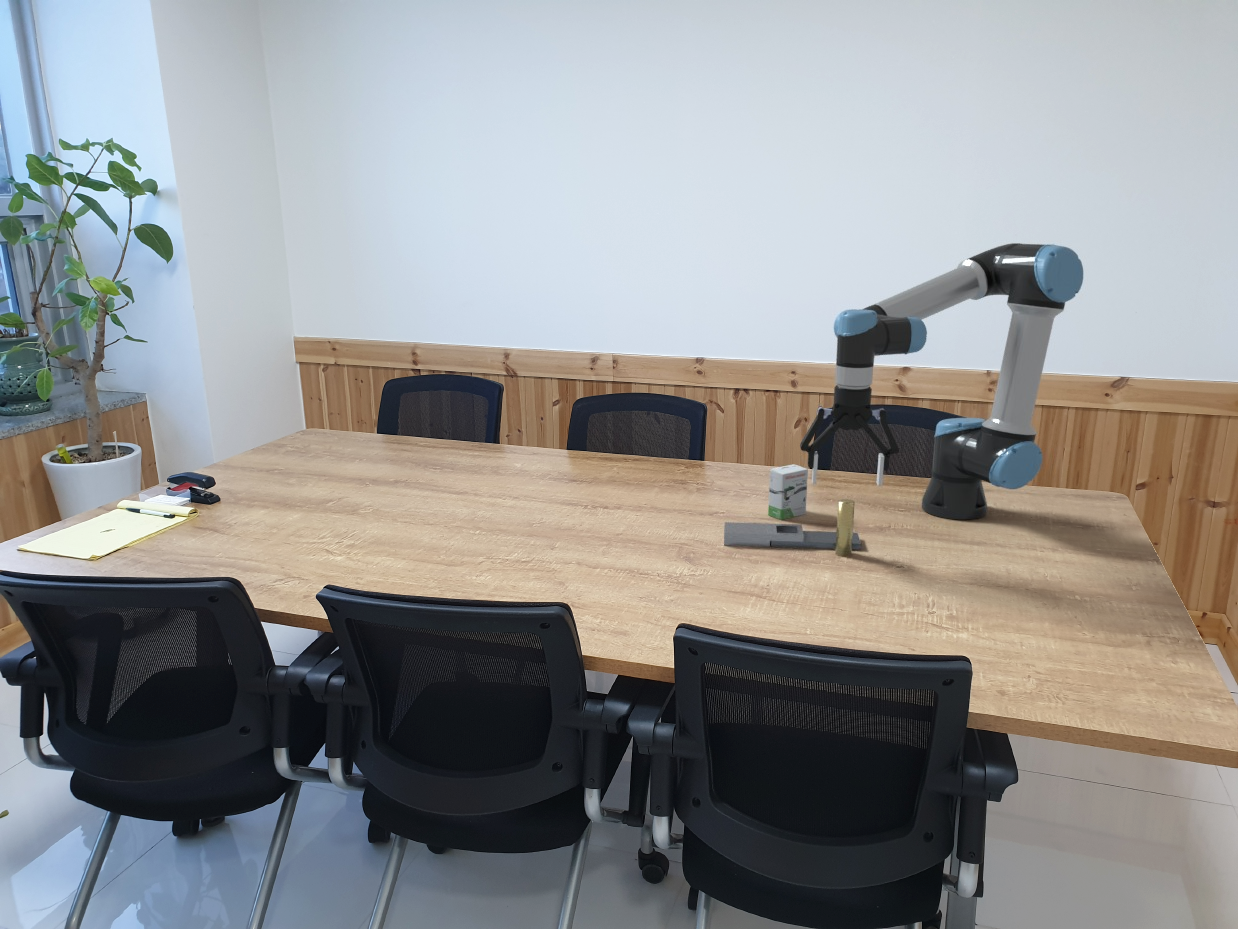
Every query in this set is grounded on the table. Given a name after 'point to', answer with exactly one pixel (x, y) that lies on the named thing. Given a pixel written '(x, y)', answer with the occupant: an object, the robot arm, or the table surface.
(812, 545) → the chain end dark
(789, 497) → the ink box
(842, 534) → the pin
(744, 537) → the chain end grey
